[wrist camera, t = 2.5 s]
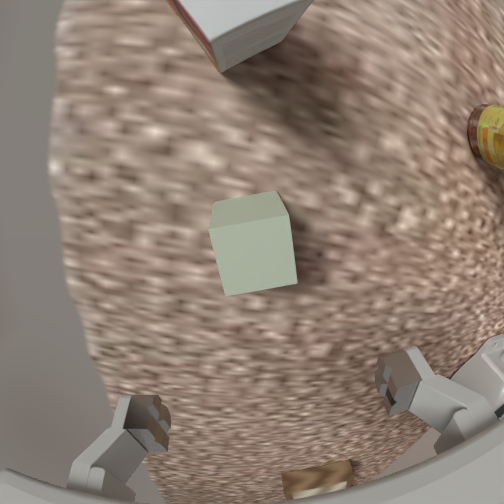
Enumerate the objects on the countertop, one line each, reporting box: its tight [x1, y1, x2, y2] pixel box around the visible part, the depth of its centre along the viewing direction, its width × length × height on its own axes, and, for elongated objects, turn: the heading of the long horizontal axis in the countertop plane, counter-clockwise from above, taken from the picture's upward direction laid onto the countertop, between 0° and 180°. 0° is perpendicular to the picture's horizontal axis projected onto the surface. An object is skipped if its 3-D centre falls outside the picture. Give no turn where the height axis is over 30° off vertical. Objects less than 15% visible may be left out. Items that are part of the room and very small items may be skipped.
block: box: [209, 191, 297, 296], centre depth 22 cm, size 5×5×6 cm
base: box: [281, 459, 354, 500], centre depth 48 cm, size 14×14×5 cm
